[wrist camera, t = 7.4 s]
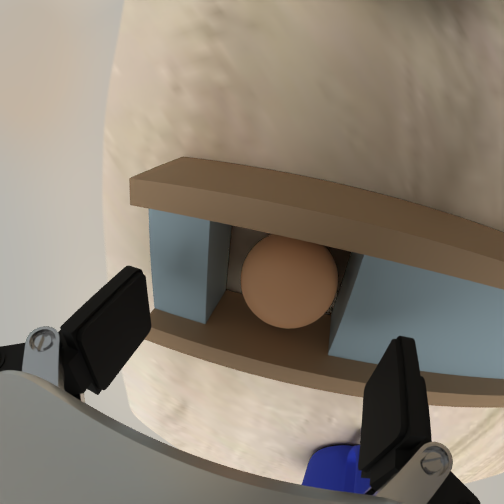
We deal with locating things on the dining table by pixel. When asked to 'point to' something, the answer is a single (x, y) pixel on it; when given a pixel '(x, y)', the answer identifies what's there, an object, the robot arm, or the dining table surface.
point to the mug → (336, 470)
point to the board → (351, 291)
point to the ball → (289, 281)
